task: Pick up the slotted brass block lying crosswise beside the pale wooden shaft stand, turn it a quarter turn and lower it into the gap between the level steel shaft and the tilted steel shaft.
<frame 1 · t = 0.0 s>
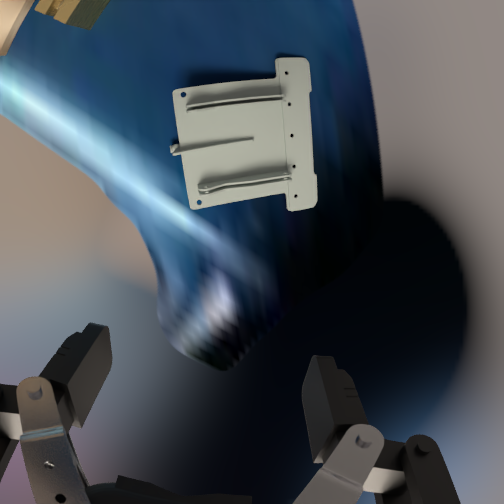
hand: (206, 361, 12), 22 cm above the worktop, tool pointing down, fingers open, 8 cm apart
slotted brass block: (84, 6, 22), on the worktop
metal bracket: (246, 137, 30), on the worktop
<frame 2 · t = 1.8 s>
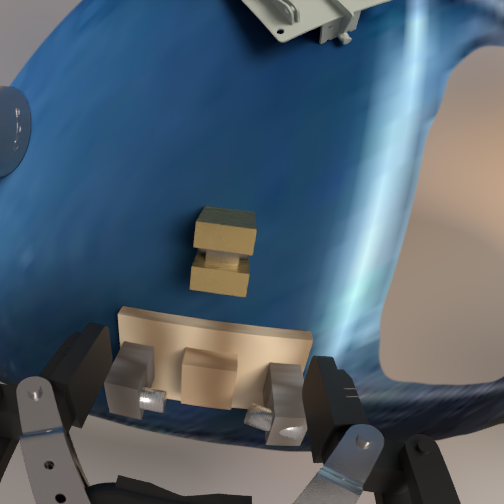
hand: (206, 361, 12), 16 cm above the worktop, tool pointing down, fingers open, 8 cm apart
coupling base: (211, 361, 31), on the worktop
slotted brass block: (225, 238, 26), on the worktop
shafts: (205, 415, 24), point 7 cm above the worktop
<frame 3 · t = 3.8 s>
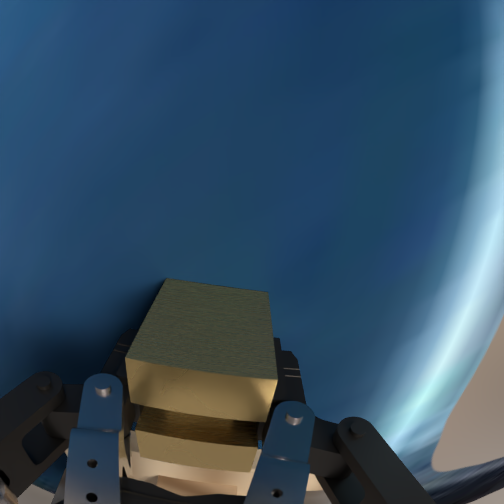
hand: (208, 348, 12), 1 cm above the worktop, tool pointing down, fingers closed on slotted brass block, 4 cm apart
coupling base: (198, 480, 18), on the worktop
slotted brass block: (211, 337, 13), on the worktop, touching gripper
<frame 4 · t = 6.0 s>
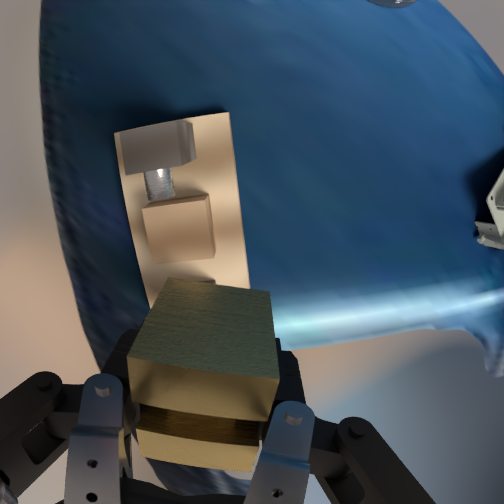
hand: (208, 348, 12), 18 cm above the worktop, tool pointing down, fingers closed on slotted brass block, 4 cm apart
coupling base: (186, 220, 29), on the worktop
slotted brass block: (212, 336, 13), point 17 cm above the worktop, touching gripper
shafts: (167, 249, 22), point 7 cm above the worktop
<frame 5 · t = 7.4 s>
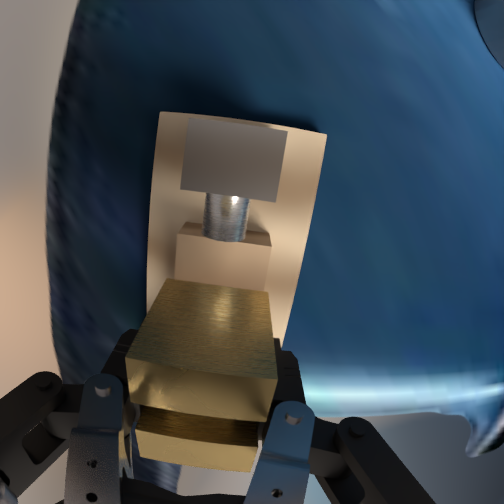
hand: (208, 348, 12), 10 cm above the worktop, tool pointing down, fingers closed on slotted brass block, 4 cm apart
coupling base: (224, 254, 22), on the worktop
slotted brass block: (211, 337, 13), point 9 cm above the worktop, touching gripper
shafts: (213, 311, 15), point 7 cm above the worktop
when the fingers open (6 cm above the worktop, at t = 8.7 s): slotted brass block drops 1 cm, resting on coupling base.
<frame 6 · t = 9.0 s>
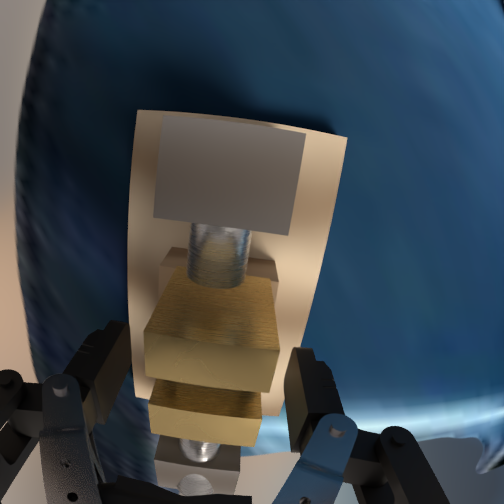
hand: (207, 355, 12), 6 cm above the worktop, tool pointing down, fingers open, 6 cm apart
coupling base: (220, 283, 18), on the worktop
slotted brass block: (217, 321, 14), point 4 cm above the worktop, touching coupling base
shafts: (204, 371, 11), point 7 cm above the worktop
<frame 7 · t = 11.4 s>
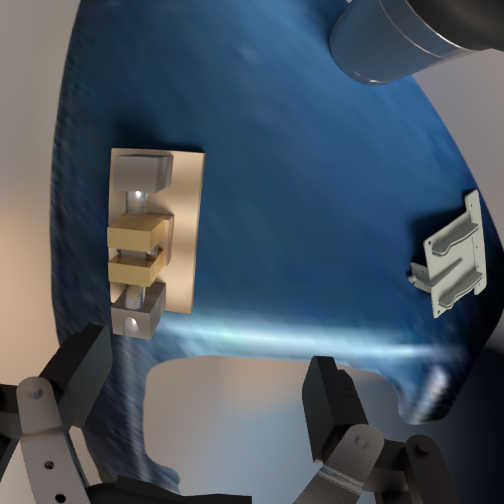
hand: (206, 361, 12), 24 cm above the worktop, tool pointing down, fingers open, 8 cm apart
coupling base: (153, 230, 35), on the worktop
slotted brass block: (144, 241, 31), point 4 cm above the worktop, touching coupling base
shafts: (132, 252, 28), point 7 cm above the worktop
metal bracket: (448, 254, 37), on the worktop
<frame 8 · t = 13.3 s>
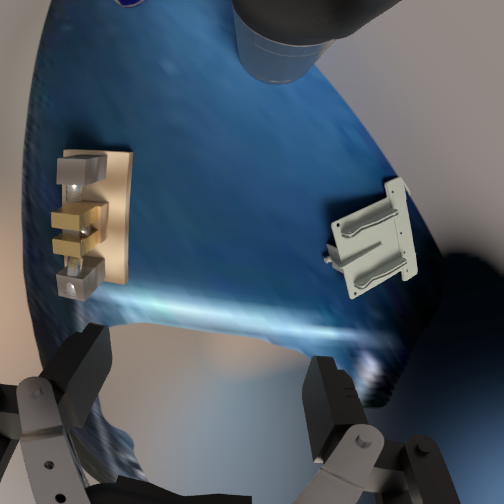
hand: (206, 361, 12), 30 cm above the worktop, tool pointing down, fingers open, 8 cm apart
coupling base: (96, 215, 40), on the worktop
slotted brass block: (84, 223, 36), point 4 cm above the worktop, touching coupling base
shafts: (71, 231, 33), point 7 cm above the worktop
metal bracket: (370, 239, 42), on the worktop
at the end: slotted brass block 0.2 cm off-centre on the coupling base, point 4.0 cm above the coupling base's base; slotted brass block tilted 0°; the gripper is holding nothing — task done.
